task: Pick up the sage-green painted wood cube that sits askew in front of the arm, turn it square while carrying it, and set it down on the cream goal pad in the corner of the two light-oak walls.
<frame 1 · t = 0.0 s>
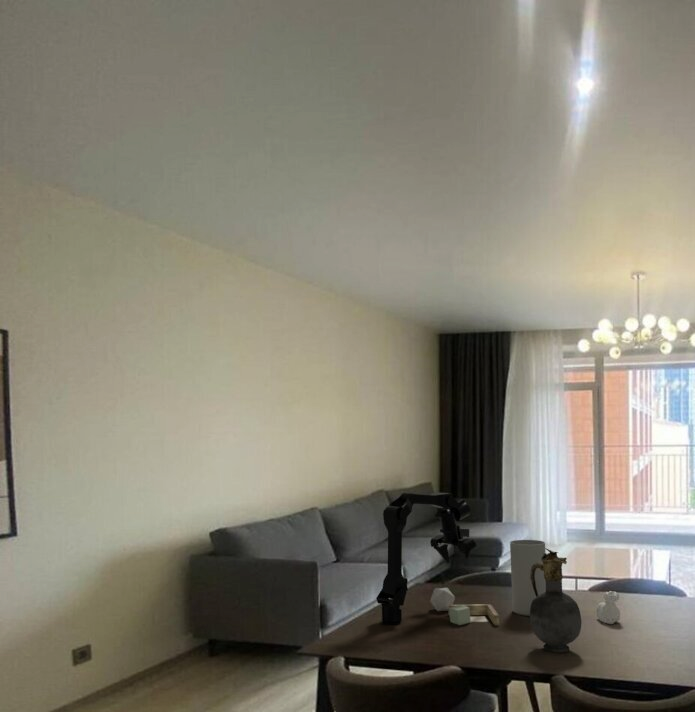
hand: (457, 564, 296), 15 cm above the table, tool pointing down, fingers open, 9 cm apart
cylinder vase: (530, 612, 283), on the table
die: (442, 610, 289), on the table
white figurine: (610, 622, 268), on the table
pitcher: (553, 648, 238), on the table
wooden corner guide: (473, 619, 274), on the table
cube: (460, 622, 270), on the table, touching wooden corner guide
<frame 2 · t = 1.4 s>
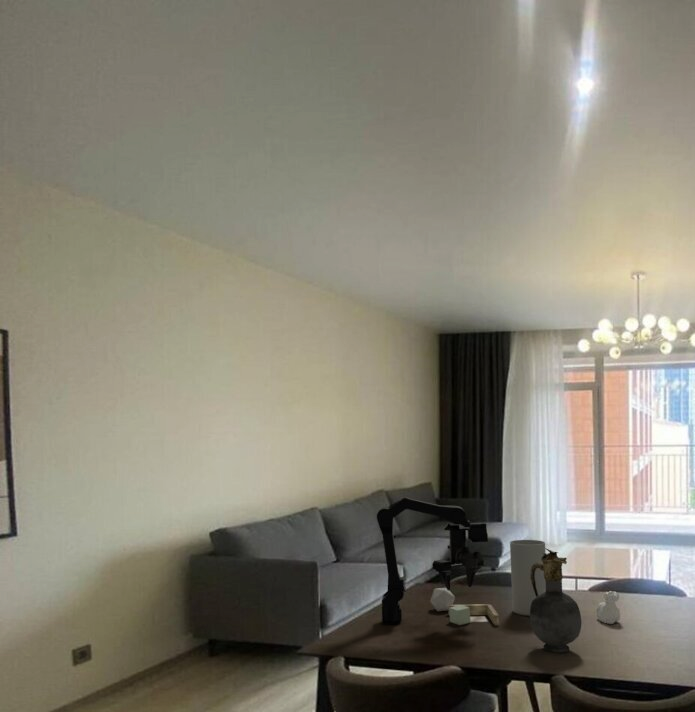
hand: (459, 588, 271), 12 cm above the table, tool pointing down, fingers open, 9 cm apart
nothing on the table moved.
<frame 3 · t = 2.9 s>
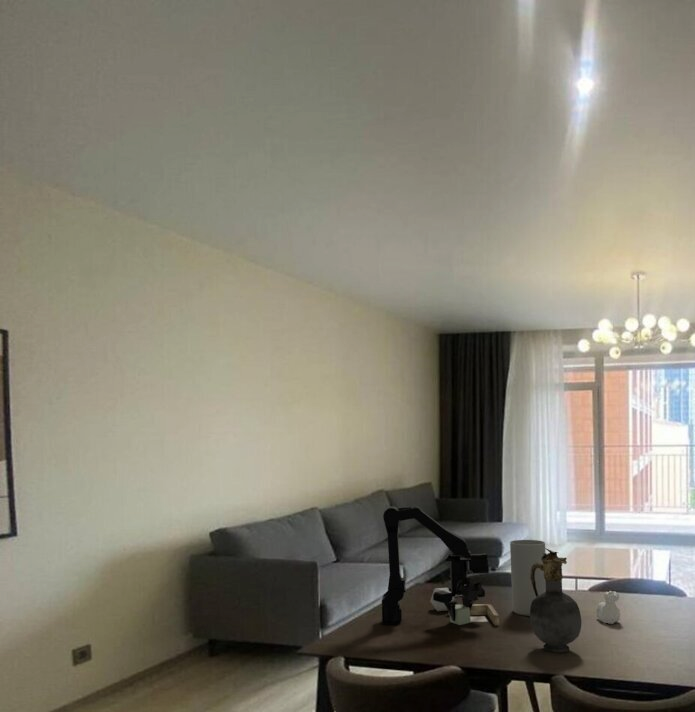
hand: (460, 619, 270), 1 cm above the table, tool pointing down, fingers closed on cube, 5 cm apart
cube: (460, 622, 270), on the table, touching wooden corner guide, gripper
everything else where it was.
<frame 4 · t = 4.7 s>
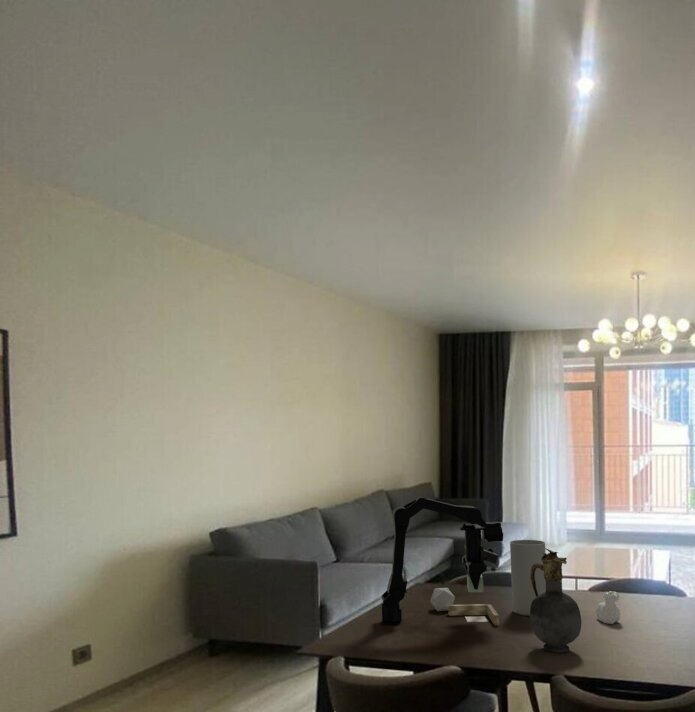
hand: (475, 587, 275), 11 cm above the table, tool pointing down, fingers closed on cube, 5 cm apart
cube: (475, 590, 275), point 10 cm above the table, touching gripper
everything else where it was.
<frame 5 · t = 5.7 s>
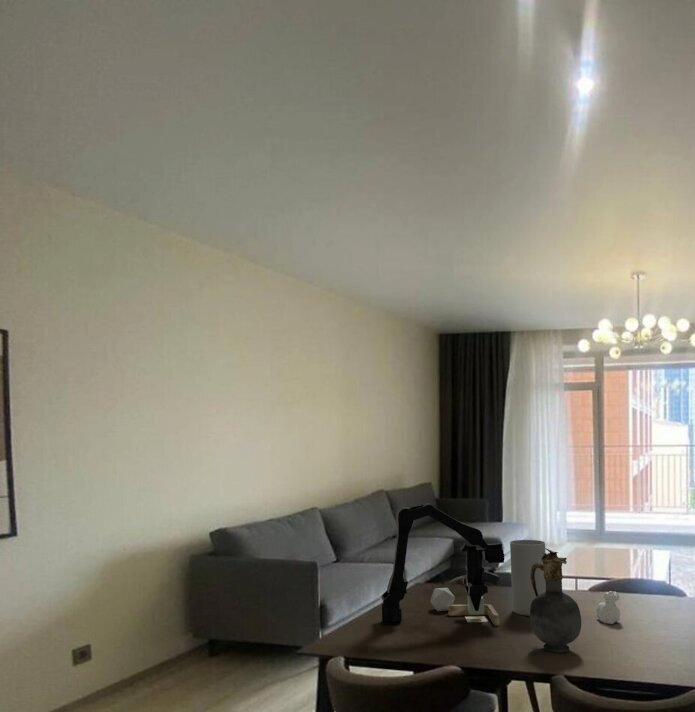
hand: (475, 609, 274), 4 cm above the table, tool pointing down, fingers closed on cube, 5 cm apart
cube: (475, 611, 274), point 3 cm above the table, touching gripper
everything else where it was.
when the fingers open (3 cm above the table, at t = 6.3 s): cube drops 1 cm, resting on wooden corner guide.
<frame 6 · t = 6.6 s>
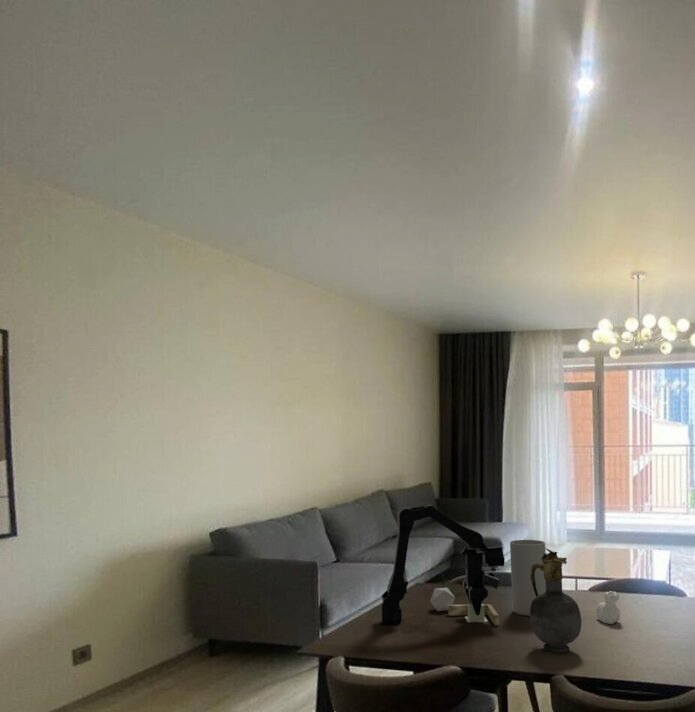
hand: (475, 612, 274), 3 cm above the table, tool pointing down, fingers open, 8 cm apart
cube: (476, 619, 274), resting on wooden corner guide
everything else where it was.
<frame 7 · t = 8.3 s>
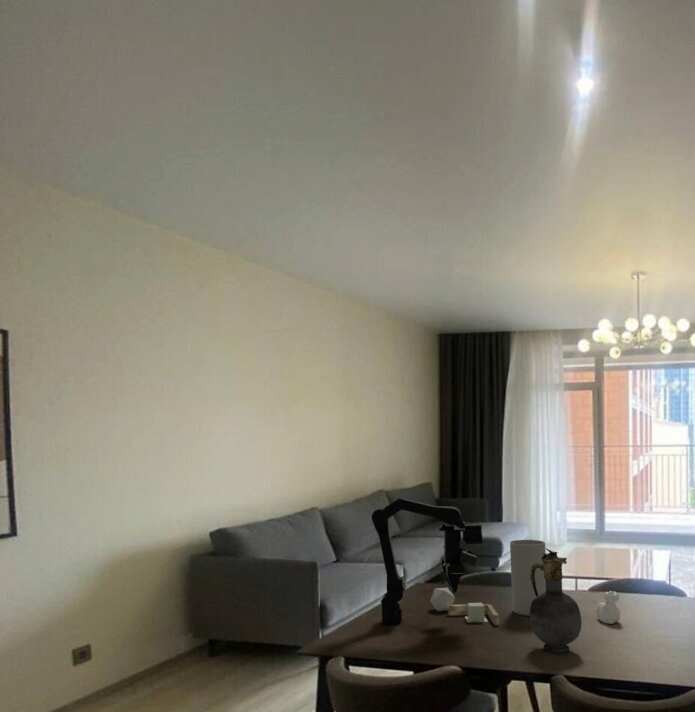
hand: (452, 589, 270), 11 cm above the table, tool pointing down, fingers open, 9 cm apart
nothing on the table moved.
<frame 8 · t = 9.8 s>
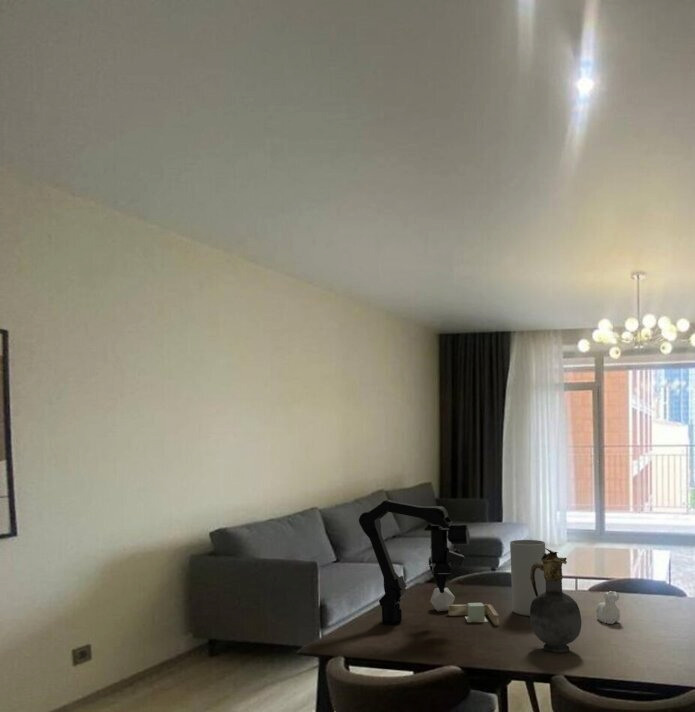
hand: (440, 590, 267), 12 cm above the table, tool pointing down, fingers open, 9 cm apart
nothing on the table moved.
at the end: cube inside the target area (0.7 cm from its centre), resting on wooden corner guide; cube tilted 0°; the gripper is holding nothing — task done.
